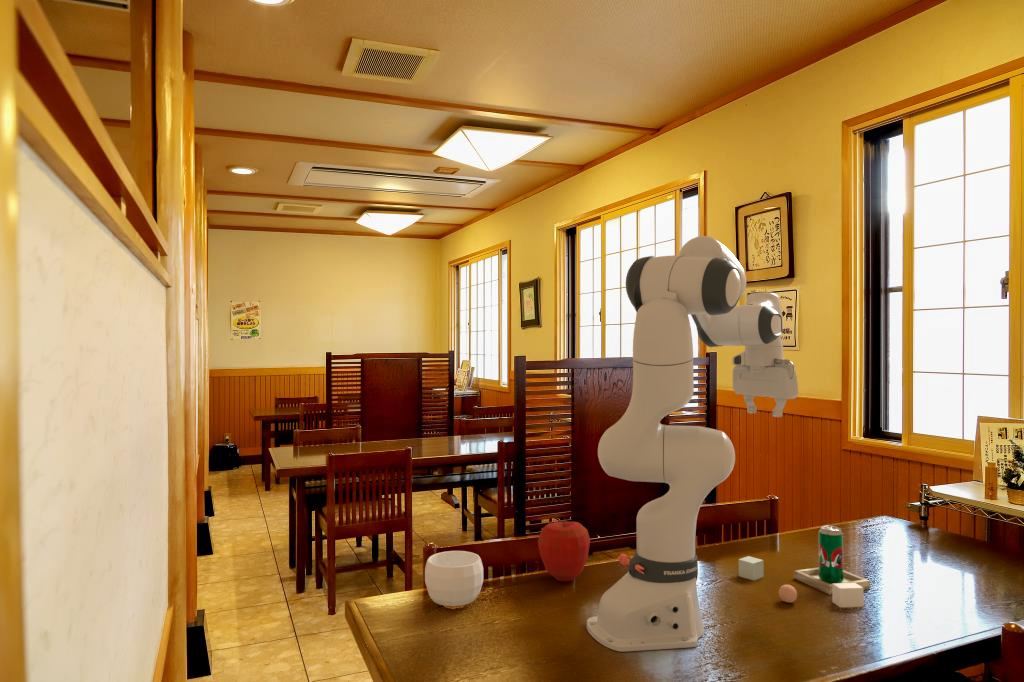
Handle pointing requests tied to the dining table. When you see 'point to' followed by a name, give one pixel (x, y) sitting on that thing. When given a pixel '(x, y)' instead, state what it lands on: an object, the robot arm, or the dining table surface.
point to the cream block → (847, 595)
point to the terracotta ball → (787, 593)
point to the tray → (813, 580)
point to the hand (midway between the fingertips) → (764, 414)
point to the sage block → (751, 568)
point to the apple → (564, 549)
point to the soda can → (830, 554)
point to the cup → (454, 577)
